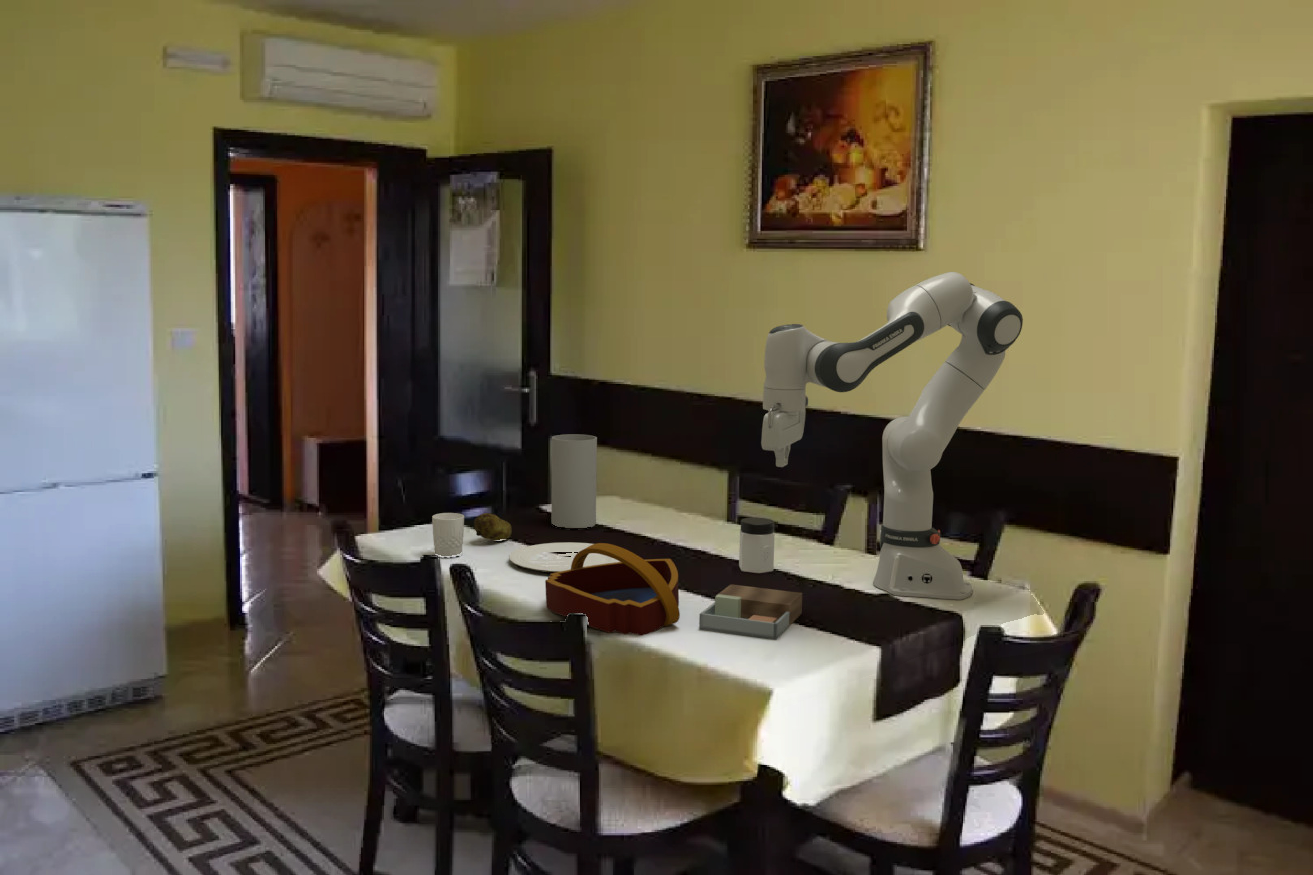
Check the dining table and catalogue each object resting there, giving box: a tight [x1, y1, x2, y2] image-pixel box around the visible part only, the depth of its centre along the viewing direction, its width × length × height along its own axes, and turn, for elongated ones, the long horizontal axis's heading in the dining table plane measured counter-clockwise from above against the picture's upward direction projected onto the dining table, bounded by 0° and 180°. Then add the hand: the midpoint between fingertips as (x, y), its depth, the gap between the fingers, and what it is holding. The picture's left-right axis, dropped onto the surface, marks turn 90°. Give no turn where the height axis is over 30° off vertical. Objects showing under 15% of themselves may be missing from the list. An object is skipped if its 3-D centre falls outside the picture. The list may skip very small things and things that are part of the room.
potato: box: [473, 512, 512, 541], centre depth 312 cm, size 8×13×8 cm, turn 136°
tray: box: [698, 601, 790, 641], centre depth 241 cm, size 16×9×3 cm, turn 68°
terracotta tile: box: [749, 615, 777, 623], centre depth 239 cm, size 5×5×2 cm
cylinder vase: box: [551, 433, 598, 529], centre depth 332 cm, size 12×12×25 cm
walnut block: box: [715, 584, 803, 627], centre depth 250 cm, size 16×10×4 cm, turn 68°
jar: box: [738, 517, 775, 574], centre depth 288 cm, size 9×8×12 cm
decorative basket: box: [544, 542, 681, 636], centre depth 251 cm, size 34×29×15 cm
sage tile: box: [714, 593, 741, 618], centre depth 244 cm, size 5×5×2 cm
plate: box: [508, 542, 620, 573], centre depth 292 cm, size 29×29×2 cm
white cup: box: [431, 512, 465, 556], centre depth 296 cm, size 8×8×10 cm
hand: (781, 466), depth 252 cm, fingers closed
